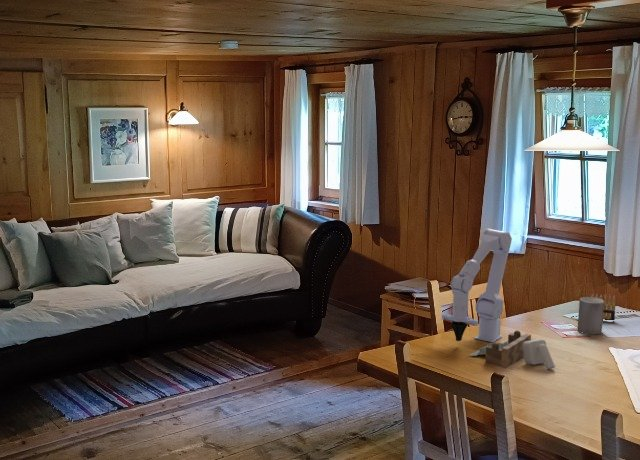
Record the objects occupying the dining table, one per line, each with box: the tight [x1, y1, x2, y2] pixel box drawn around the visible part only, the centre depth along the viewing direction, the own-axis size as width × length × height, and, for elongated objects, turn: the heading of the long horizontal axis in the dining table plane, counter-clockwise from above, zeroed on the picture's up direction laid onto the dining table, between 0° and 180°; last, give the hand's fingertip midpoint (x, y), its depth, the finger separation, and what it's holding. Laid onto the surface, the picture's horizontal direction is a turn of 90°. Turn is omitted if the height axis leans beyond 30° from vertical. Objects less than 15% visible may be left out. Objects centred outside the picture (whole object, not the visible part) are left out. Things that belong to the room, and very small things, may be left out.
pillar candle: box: [577, 296, 604, 335], centre depth 315 cm, size 10×10×15 cm
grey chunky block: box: [523, 339, 556, 370], centre depth 272 cm, size 8×10×10 cm
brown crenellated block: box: [484, 329, 532, 369], centre depth 281 cm, size 23×8×8 cm, turn 143°
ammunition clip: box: [590, 293, 616, 320], centre depth 332 cm, size 11×2×12 cm, turn 72°
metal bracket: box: [469, 341, 509, 357], centre depth 285 cm, size 14×6×15 cm
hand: (458, 340), depth 293 cm, fingers closed
